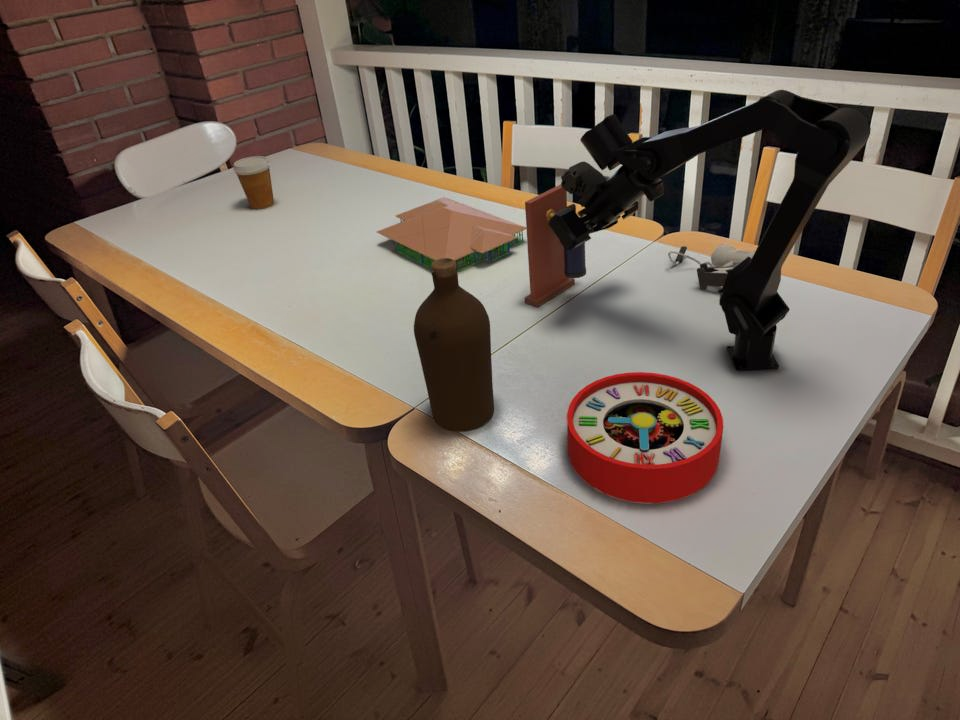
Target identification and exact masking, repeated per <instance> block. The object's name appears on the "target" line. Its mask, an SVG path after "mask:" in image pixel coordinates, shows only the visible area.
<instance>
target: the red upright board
mask: <svg viewBox="0 0 960 720" xmlns="http://www.w3.org/2000/svg"><path fill="white" fill-rule="evenodd" d="M567 197H568V195H567V191H566V190H565V189H564V188H562V186H561V183H560V184H559V185H556V186H555V187H552V188H550V189H548V190H546V191H545V192H543V193H540V194H538V195H536V196H534V197H532V198H530V199H528V200H526V201H525V202H524V207H525V227H526V228H527V229H526V242H527V243H526V244H527V260H528V261H527V262H528V273H529V275H528V276H529V294H528V295H526V296H524V304H528V305H530V306H532V307H535V308H539V307H541V306H543V305H544V304H546V303H547V302H549V301H550V300H552V299H553V298H555V297H556V296H558V295H560V294H561V293H563V292H565V291H566V290H568V289H569V288H572V287H573V286H574V285H575V284H576V278H569V277H566V276H565V274H564V269H565V264H564V246H563V245H562V244H561V243H560V241H559V238H558V237H557V236H556V234H555V233H554V231H553V230H552V229H551V227H550V226H549V220H550V219H551V218H552V217H553V216H554V215H555V214H557V213H559V211H560V210H561V209H563V208H565V207H567V206H568V198H567Z"/></svg>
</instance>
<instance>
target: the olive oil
mask: <svg viewBox="0 0 960 720" xmlns="http://www.w3.org/2000/svg"><path fill="white" fill-rule="evenodd" d="M455 261H456V260H455ZM455 261H454V260H453V259H449V258H442V259H438V260H436V261H435V260H433V261H432V262H431V263H432V267H431V268H432V269H431V271H432V272H431V276H432V284H433V290H432V291H431V292H430V293H429V295H428V296H427V297H426V298H425V299H424V300H423V301H422V302H421V303H420V305H419V306H418V308H417V310H416V313H415V316H414V322H413V334H414V335H413V336H414V339H415V345H416V348H417V352H418V357H419V361H420V365H421V369H422V373H423V378H424V382H425V386H426V387H425V388H426V391H427V396H428V400H429V405H430V406H429V407H430V411H431V415H432V420H433V421H434V423H435V424H436V425H437V426H438V427H439V428H441V429H443V430H445V431H449V432H456V433H457V432H458V433H465V432H470V431H474V430H478V429H479V428H481V427H483V426H485V425H486V424H487V423H488V422H490V420H491V419H492V417H494V413H495V400H494V398H495V397H494V384H493V365H492V363H493V362H492V342H491V341H492V339H491V338H492V337H491V335H492V334H491V320H490V316H489V314H488V312H487V310H486V308H485V305H484V304H483V303H482V302H481V300H479V299H478V298H477V297H476V296H474V295H473V294H472V293H470V292H469V291H467V290H466V289H464V288H463V287H461V286H460V284H459V274H458V272H457V271H458V270H456V269H457V262H456V263H455Z"/></svg>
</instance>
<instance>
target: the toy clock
mask: <svg viewBox="0 0 960 720" xmlns="http://www.w3.org/2000/svg"><path fill="white" fill-rule="evenodd" d="M571 399H572V400H571V401H570V403H569V405H568V408H567V412H566V428H567V429H566V432H567V433H566V435H567V457H568V459H569V462H570V466H571V467H572V468H573V470H574V472H575V474H576V475H577V476H578V477H579V478H580V480H582V481H583V482H585V483H586V484H587V485H588V486H590V487H591V488H592V489H594V490H596V491H597V492H599V493H601V494H603V495H606V496H608V497H611V498H614V499H615V500H621V501H624V502H629V503H634V504H635V503H636V504H662V503H663V504H665V503H671V502H674V501H679V500H681V499H685V498H688V497H689V496H692V495H693V494H696V493H698V492H699V491H701V490H702V489H704V488H705V487H706V486H707V485H708V484H709V483H710V482H711V481H712V479H713V478H714V476H715V475H716V472H717V471H718V466H719V464H720V463H719V462H720V457H721V456H720V455H721V449H722V441H723V433H724V418H723V414H722V412H721V409H720V408H719V406H718V404H717V403H716V401H715V400H714V399H713V398H712V397H711V396H710V395H709V394H708V393H707V392H705V391H704V390H702V389H701V388H700V387H698V386H697V385H694V384H693V383H691V382H688V381H686V380H684V379H681V378H678V377H675V376H671V375H667V374H661V373H657V372H645V371H644V372H643V371H635V372H633V371H632V372H621V373H616V374H613V375H612V374H611V375H608V376H604V377H602V378H599V379H596V380H595V381H592V382H591V383H589V384H586V385H585V386H584V387H583V388H582V389H580V390H579V391H578V392H577V393H576V394H575V395H574V397H573V398H571Z"/></svg>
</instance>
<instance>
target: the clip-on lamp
mask: <svg viewBox="0 0 960 720" xmlns="http://www.w3.org/2000/svg"><path fill="white" fill-rule="evenodd" d="M687 249H688V244H686V243H685V244H684V245H682V246H680V248H679V251H669V252H668V254H667V256H668V259H669V261H670V262H671V264H673V265H677V266H678V264H679V263H682V261H683V258H684V257H685V258H687V259H689V260H691V261H693V262H696V263H697V264H698V265H699V267H698V268H697V269H696V274H697V280H698V284H699V285H698V286H699V289H700V290H707V289H708V287H709V286H710V287H721V288H722V287H723V286H724V284H725V281H726V278H727V275H728V273H729V271H730V270H731V269H732V268H734V267H735V266H736V265H738V264H739V263H740V262H742V261H743V260H744V259H745V258H747V257H748V256H749V257H750V258H751V259H752V257H753V255H754V253H755V250H754V251H752V250H743V249H736V247H734V246H733V245H731V244H727V243H722V244H719V245H717V246H715V248H714V249H713V251H712V253H711V255H710V258H711V259H710V261H711V262H710V261H704V262H701V261H700V260H698V259H696V258H694V257H692V256H689V255H687V254H686V251H687ZM671 254H675V255H676V258H675V262H674V260H673V258H672V257H671Z"/></svg>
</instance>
